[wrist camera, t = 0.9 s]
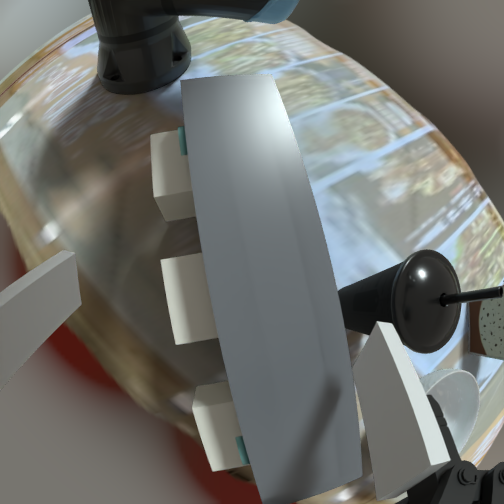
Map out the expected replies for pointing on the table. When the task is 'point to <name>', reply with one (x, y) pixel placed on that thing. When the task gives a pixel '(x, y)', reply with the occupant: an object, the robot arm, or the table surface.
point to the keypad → (270, 289)
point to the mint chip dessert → (487, 328)
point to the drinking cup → (411, 301)
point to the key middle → (188, 299)
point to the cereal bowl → (455, 400)
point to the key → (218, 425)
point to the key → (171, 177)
